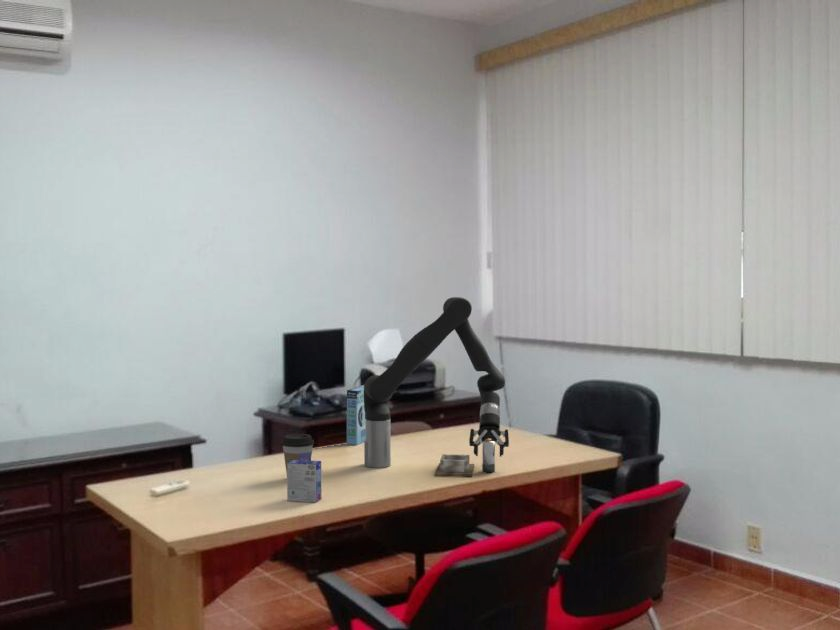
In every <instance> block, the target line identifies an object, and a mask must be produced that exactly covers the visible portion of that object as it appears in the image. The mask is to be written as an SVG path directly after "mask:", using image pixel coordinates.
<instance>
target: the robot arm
mask: <svg viewBox="0 0 840 630" xmlns="http://www.w3.org/2000/svg"><path fill="white" fill-rule="evenodd" d="M472 309H473V307H472V303H471V302H470V300H468V299H467V298H464V297H461V296H453V297H452V296H451V297H450V298H447V299H446V300H445V301H444V303H443V305H442V310H443V312H442V313H441V315H439V316H438V318H437V319H435V321H433V322H432V323H430V324H428V325H427V326H425V327H423V328H422V329H421V330H419V331H418V332H417V333H416V334H414V336H412V337H411V338H410V339H409V340H408V342H406V343H405V345H403V347H402V348H401V349H400V351H399V353H398V354H397V356H396V358H395V359H394V361H393V362H392V363H391V365H389V367H388V368H387V369H386V370H385V371H383V372H382V373H381V374H377V375H376V374H374V375H371V376H369V377H368V378H367V379H366V380H365V381H364V383H363V385H364V410H365V418H366V440H365V441H364V449H363V450H364V457H363V458H364V460H363V461H364V467H367V468H373V469H374V468H376V469H378V468H379V469H381V468H387V467H390V466H391V460H392V459H391V453H392V452H391V445H392V444H391V410H390V406H389V398H391V396H392V395H394V394H395V393H394V392H395V391H396V390H397V389H398V388H399V386H400V385H401V384H402V383H403V382H404V381H405V380H406V378H407V377H409V376H410V374H412V373H413V372H415V370H416V369H418V367H420V365H421V364H422V363H423V362H424V361H426V359H428V357H430V356H431V355H432V353H434V352H435V350H436V349H437V348H438V347H439V346H440V345H441V344H442V343H443V341H444V340H445V339H446V338H447V337H448V336H449V335H450V334H451V333H452V332H453V331H455V332H456V334H457V336H458V338H459V340H460V341H461V344H462V346H463V347H464V349H465V351H466V354H467V355H468V358H469V360H470V362H471V364H472V366H473V369H474V370H475V371H476V372H486V373H487V374H484V375H481V376H479V377H478V379H477V383H476V384H477V388H478V393H479V396H480V410H479V423H478V424H479V427H478V428H479V429H478V430H475V429H474V428H471V429H470V430H469V431H470V432H469V441H468V442H469V446H470V447H473V454H474V455H475V457H479V446H480V445H483V441H484V440H486V439H491V440H493V441H495V444H496V445H498V446H499V457H502V456H504V453H505V451H504V449H505V447H506V448H508V447H509V445H510V443H509V441H510V438H509V430H508V429H505V430H501V429H500V428H501V410H500V404H501V399H500V397H501V396H500V395H499V394H498V393H497V391H500V390H502V389H504V387H505V385H506V380H505V376H504V374H503V373H502V372H501V371H500V370H499V368H498V367H496V365H495V364H494V363H493V361H492V360H491V358H490V356H489V354H488V351H487V350H486V347H485V346H484V344H483V343H482V342H483V341H482V340H481V339H480V338H479V336H478V335H477V333H476V332H475V331H474V329H473V327H472V325H471V323H470V321H469V318H470V316H471V314H472ZM477 435H478V437H477V439H475V437H476V436H477ZM501 436H503V438H504V440H505V441H503V439H501ZM474 439H475V440H474Z"/></svg>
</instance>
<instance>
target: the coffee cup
mask: <svg viewBox="0 0 840 630" xmlns="http://www.w3.org/2000/svg"><path fill="white" fill-rule="evenodd" d="M283 437H284V438H283V439H282V440H281V446H282V450H283V455H284V456H283V457H284V464H285V471H286V474H287V463H289V462H290V461H292V460H299V458H300V454H301V453H307V454H311V456H312V455H313V454H312V453H313V446H314V445H315V440H314V439H313V438H312V435H311V434H309V433H308V434H307V433H292V434H287V435H284V436H283ZM302 458H309V456H306V455H305V456H302Z"/></svg>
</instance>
